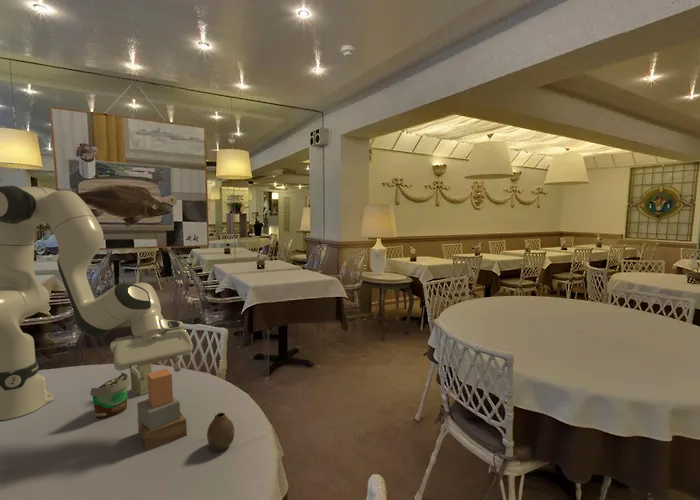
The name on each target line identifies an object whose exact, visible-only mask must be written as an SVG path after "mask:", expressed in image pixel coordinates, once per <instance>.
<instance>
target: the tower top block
mask: <svg viewBox="0 0 700 500" xmlns="http://www.w3.org/2000/svg"><path fill="white" fill-rule="evenodd" d="M180 403H181V401H179V400H178V398H177V399H176V398H175V397H174V396H173V402H171V403H168V404H164V405H161V406H158V407H155V408H153V407H152V405H151V404H150V402H149V399H147V398H146V399H145V400H141V401H139V402H137V403H136V404H137V421H138V420H139V421H140V422H141V423H142V424H143V425H144V426H145V427H146V428H147V429H149V430H150V431H152V430H154V429H157V428H159V427H161V426H164V425H166V424H169V423H171V422H174V421H176V420H178V419H180V412H181V404H180Z"/></svg>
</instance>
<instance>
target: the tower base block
mask: <svg viewBox="0 0 700 500" xmlns="http://www.w3.org/2000/svg"><path fill="white" fill-rule="evenodd" d="M137 425H138V427H137V429H138V431H137V432H138V434H139V436H140V438H141V440H142V442H143V444H144V446H145V448H146V450H147V451H148V450H150V449H154V448H157V447H159V446H161V445H165V444H167V443H170V442H173V441H176V440H178V439H181V438H184V437H186V436H188V431H187V427H188V426H187V418H186V417H185V416H184V415H183V413H182V412H181V411H180V419H178V420H176V421H174V422H171V423H169V424H166V425H164V426H161V427H159V428H157V429H154V430H152V431H150V430H149V429H147V428H146V427H145V426H144V425H143V424H142V423H141V422H140V421H139V420H138V419H137Z"/></svg>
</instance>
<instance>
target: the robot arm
mask: <svg viewBox="0 0 700 500" xmlns="http://www.w3.org/2000/svg"><path fill="white" fill-rule="evenodd" d="M42 224H45V225H47V226H49V228H50V230H51V232H52V234H53V235H54V238H55V240H56V242H57V247H58V258H57V261H56V263H57V268H58V271H59V275H60V277H61V280H62V282H63V283H62V284H63V285H64V288H65V291H66V293H67V297H68V299H69V301H70V303H71V307H72V311H73V316H74V321H75V325H76V327H77V329H78V330H79V331H80V332H81V333H82V334H83V335H85V336H89V337H94V338H101V337H105V336H106V335H108V334H109V333H110V332H112V330H114V329H115V328H116V327H118V326H119V325H120V324H122V323H124V322H126V321H127V320H128V321H130V322H131V326H130V327H131V333H132V335H127V336H123V337H117V338H115V339H113V340H112V341H111V342H110V344H109V347H110V351H111V353H113V363H114V364H113V365H114V370H117V371H124V370H125V371H126V370H130V369H131V372H132V373H133V374H134V375H136V376H137V380H138V381H142V380H144V378H145V377H144V372H139V371H138V370H137V367H138V366H143V365H147V364H151V365H152V364H155V363H160V362H165V361H169V360H173V359H175V361H176V362H177V363H175V364H174V365H173V371H174V373H177V372H180V371H181V370H182V367H181V362H182V359H183V357H186V356H190V355H191V353H192V352H193V350H194V344H193V342H192V339H191V337H190V335H189V333H188V331H187V330H186V329H184V323H183V322H182V321H180V320H171V319H165V318H164V316H163V315H162V313H161V312H162V306H161V304H160V303H161V302H160V299H159V297H158V295H157V292H156V290H155V288H154V287H153V285H151V284H150V283H147V282H136V283H135V282H134V283H128V282H120V283H117V284H115V285H114V286H113V287H111V288H109V289H108V290H106V291H105V292H104V293H102V294H100V295H99V296H98V297H96V298H95V295H94V293H93V291H92V289H91V285H90V282H89V279H88V277H87V273H88V268H89V266H90V263H91V262H92V261H93V258H94V257H95V256H96V254H97V253H98V252H99V250H100V249H101V247H102V245H103V242H104V239H105V238H104V237H105V236H104V231H103V228H102V226H101V224H100V223H99V221H98V219H97V218H96V216H95V214H94V213H93V212H92V210H91V209H90V207H89V206H88V205H87V204H86V202H85V201H84V200H83V199H82V198H81V197H80V196H79V195H78V194H77V193H76V192H74V191H71V190H69V189H68V190H67V189H63V190H62V189H58V188H50V187H43V186H36V185H35V186H16V185H2V186H0V421H4V420H11V419H14V418H18V417H21V416H25V415H27V414H30V413H32V412H34V411H36V410H39V409H40V408H42V407H43V406H45V405H46V404H48V403H51V402H53V401H54V400H55V396H54V395H53V394H52V392H50V391H49V390H48V389H47V386H46V379H45V377H44V376H43V375H41V374H39V373H38V372H39V363H38V360H37V359H36V349H35V340H34V337H33V336H32V335H31V334H29V333H26V332H23V330H22V329H21V327H20V324H19V320H22V319H25V318H28V317H31V316H33V315H36V314H37V313H39V312H41V311H42V310H43V309H45V308H46V307H47V306H48V305H49V303H50V298H51V297H50V293H49V291H48V288H46V286H44V285H42V284H41V283H40V281H39V280H38V278H37V275H36V272H35V262H34V261H35V235H36V234H35V233H36V230H37V227H39V226H40V225H42Z"/></svg>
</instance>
